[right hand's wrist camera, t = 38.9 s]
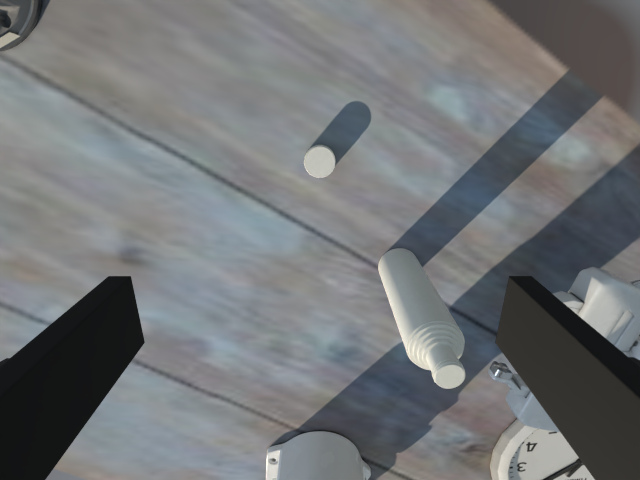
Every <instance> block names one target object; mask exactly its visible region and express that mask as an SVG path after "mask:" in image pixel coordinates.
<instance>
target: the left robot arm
mask: <svg viewBox="0 0 640 480" xmlns="http://www.w3.org/2000/svg"><path fill="white" fill-rule="evenodd" d="M552 294H553V295H554V296H555V297H557V298H558V299H559V300H560V301H561V302H563V303H564V304H565V305H566V306H567V307H569V308H570V309H571V310H572V311H573V312H575V313H576V314H577V315H578V316H579V317H581V318H582V319H583V320H584V321H585V322H587V323H588V324H589V325H590V326H591V327H593V328H594V329H595V330H596V331H597V332H599V333H600V334H601V335H602V336H603V337H605V338H606V339H607V340H608V341H609V342H611V343H612V344H613V345H614V346H615V347H617V348H618V349H619V350H620V351H621V352H623V353H624V354H625V355H626V356H628V357H635V358H636V359H638V360H640V280H635V281H632V282H628V281H626V280H625V279H623V278H621V277H619V276H617V275H615V274H612V273H610V272H608V271H605V270H602V269H599V268H596V267H590V268H587V269H584V270H581V271H580V272H579V274H578V276H577V277H576V279H575V281H574V282H573V284H572V286H571V287H570V289H569V291H568V293H567V292H563V291H559V292H556V293H552ZM488 373H489V374H490V376H491V377H492V379H494V380H495V381H498V382H502V383H506V384H507V385H508V386H509V387H510V388H511V389H510V391H509V392H508V394H507V396H506V401H507V403H508V405H509V407H510V409H511V410H512V412H513V413H514V415H515V416H516V418H517V419H518V420H519V421H520V422H521V423H522V424H524V425H526V426H529V427H533V428H538V429H543V430H548V431H554V432H560V431H559V430H558V428H557V427H556V425H555V424H554V423H553V421H552V420H551V419H550V417H549V416H548V414H547V413H546V412H545V410H544V409H543V407H542V406H541V405H540V403H539V402H538V401H537V399H536V398H535V396H534V395H533V394H532V392H531V391H530V390H529V388H528V387H527V385H526V384H525V383H524V381H523V380H522V378H521V377H520V376H519V375H518V374H512V372H511V371H510V370H508V367H507V365H506V364H504V363H498V362H496V361H494V362H493V363H492V365H491V367H490V369H489V370H488ZM370 476H371V468H370V466H369V465H368V464H367V463H365V462H364V461H363V460H362V458H361V456H360V454H359V451H358V449H357V448H356V446H355V445H354V444H353V443H352V442H351V441H350V440H348V439H347V438H345V437H343V436H341V435H338V434H335V433H331V432H325V431H314V432H307V433H303V434H300V435H298V436H296V437H294V438H292V439H291V440H289V441H287V442H286V443H283V444H279V445H275V446H271V447H270V448H268V450H267V463H266V480H368V479H369V478H370Z"/></svg>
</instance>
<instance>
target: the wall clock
mask: <svg viewBox="0 0 640 480" xmlns="http://www.w3.org/2000/svg"><path fill="white" fill-rule="evenodd" d="M490 469H491V475H492V480H595V479H594V478H593V477H592V475H591V474H590V472H589V471H588V470H587V468H586V467H585V465H584V464H583V463H582V461H581V460H580V459H579V457H578V456H577V454H576V453H575V452H574V450H573V449H572V448H571V446H570V445H569V443H568V442H567V441H566V439H565V438H564V436H563V435H562V434H561V432H554V431H548V430H543V429H538V428H533V427H529V426H526V425H524V424H522V423H521V422H520V421H519V420H518V419H516V420H515V421H514V422H513V423H512V424H511V425H510V426H509V427H508V428H507V429H506V430H505V431H504V432H503V434H502V435H501V437H500V439H499V441H498V442H497V444H496V446H495V447H494V449H493V453H492V458H491V463H490Z"/></svg>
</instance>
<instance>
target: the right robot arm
mask: <svg viewBox="0 0 640 480" xmlns="http://www.w3.org/2000/svg"><path fill="white" fill-rule="evenodd" d="M41 5H42V0H0V51H4V50H8V49H10V48H13V47H15V46H17V45H18V44H20V43H21V42H22V41H24V40H25V39H26V38H27V37H28V36H29V34H30V33H31V32H32V30H33V29H34V27H35V25H36V23H37V21H38V18H39V15H40V11H41ZM144 343H145V342H144V337H143V333H142V328H141V323H140V318H139V313H138V309H137V304H136V299H135V294H134V289H133V285H132V280H131V276H109V277H107V278H106V279H105V280H104V281H103V282H101V283H100V284H99V285H98V286H97V287H95V288H94V289H93V290H92V291H91V292H89V293H88V294H87V295H86V296H85V297H83V298H82V299H81V300H80V301H79V302H77V303H76V304H75V305H74V306H73V307H71V308H70V309H69V310H68V311H67V312H65V313H64V314H63V315H62V316H61V317H59V318H58V319H57V320H56V321H55V322H53V323H52V324H51V325H50V326H49V327H47V328H46V329H45V330H44V331H43V332H41V333H40V334H39V335H38V336H37V337H35V338H34V339H33V340H32V341H31V342H29V343H28V344H27V345H26V346H25V347H23V348H22V349H21V350H20V351H18V352H17V353H16V354H15V355H14V356H12V357H11V358H6V359H5V360H3V361H1V362H0V480H45V479H46V478H47V476H48V475H49V474H50V472H51V471H52V470H53V468H54V467H55V465H56V464H57V463H58V461H59V460H60V459H61V457H62V456H63V454H64V453H65V452H66V450H67V449H68V448H69V446H70V445H71V443H72V442H73V441H74V439H75V438H76V436H77V435H78V434H79V432H80V431H81V430H82V428H83V427H84V425H85V424H86V423H87V421H88V420H89V419H90V417H91V416H92V414H93V413H94V412H95V410H96V409H97V407H98V406H99V405H100V403H101V402H102V401H103V399H104V398H105V396H106V395H107V394H108V392H109V391H110V390H111V388H112V387H113V385H114V384H115V383H116V381H117V380H118V378H119V377H120V376H121V374H122V373H123V372H124V370H125V369H126V367H127V366H128V365H129V363H130V362H131V361H132V359H133V358H134V356H135V355H136V354H137V352H138V351H139V349H140V348H141V347H142V345H143V344H144ZM495 343H496V344H497V345H498V347H499V348H500V349H501V351H502V352H503V354H504V355H505V356H506V358H507V359H508V361H509V362H510V363H511V365H512V366H513V367H514V369H515V370H516V372H517V373H518V374H519V376H520V377H521V378H522V380H523V381H524V383H525V384H526V385H527V387H528V388H529V390H530V391H531V392H532V394H533V395H534V396H535V398H536V399H537V401H538V402H539V403H540V405H541V406H542V407H543V409H544V410H545V412H546V413H547V414H548V416H549V417H550V419H551V420H552V421H553V423H554V424H555V425H556V427H557V428H558V430H559V431H560V432H561V434H562V435H563V436H564V438H565V439H566V441H567V442H568V443H569V445H570V446H571V448H572V449H573V450H574V452H575V453H576V454H577V456H578V457H579V459H580V460H581V461H582V463H583V464H584V465H585V467H586V468H587V470H588V471H589V472H590V474H591V475H592V477H593V478H594V479H595V480H640V360H638V359H636V358H635V357H628V356H626V355H625V354H624V353H623V352H621V351H620V350H619V349H618V348H617V347H615V346H614V345H613V344H612V343H611V342H609V341H608V340H607V339H606V338H605V337H603V336H602V335H601V334H600V333H599V332H597V331H596V330H595V329H594V328H593V327H591V326H590V325H589V324H588V323H587V322H585V321H584V320H583V319H582V318H581V317H579V316H578V315H577V314H576V313H575V312H573V311H572V310H571V309H570V308H569V307H567V306H566V305H565V304H564V303H563V302H561V301H560V300H559V299H558V298H557V297H555V296H554V295H553V294H552V293H551V292H549V291H548V290H547V289H546V288H545V287H543V286H542V285H541V284H540V283H539V282H537V281H536V280H535V279H534V278H533V277H531V276H509V280H508V285H507V289H506V294H505V299H504V304H503V309H502V313H501V318H500V323H499V328H498V333H497V337H496V342H495Z"/></svg>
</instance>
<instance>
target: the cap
mask: <svg viewBox="0 0 640 480" xmlns="http://www.w3.org/2000/svg"><path fill="white" fill-rule="evenodd" d="M335 159H336V158H335V155H334V154H333V151H332V150H331V149H330V148H329V147H328V146H325V145H318V144H317V145H314V146H313V147H311V148H310V149H308V151H307V152H306V155H305V158H304V160H305V161H304V164H305V168H306V170H307V171H308V173H309V174H310V175H312V176H314V177H317V178H323V177H326V176H328V175H329V174H331V173H332V171H333V170H334V167H335V162H336V160H335Z"/></svg>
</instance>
